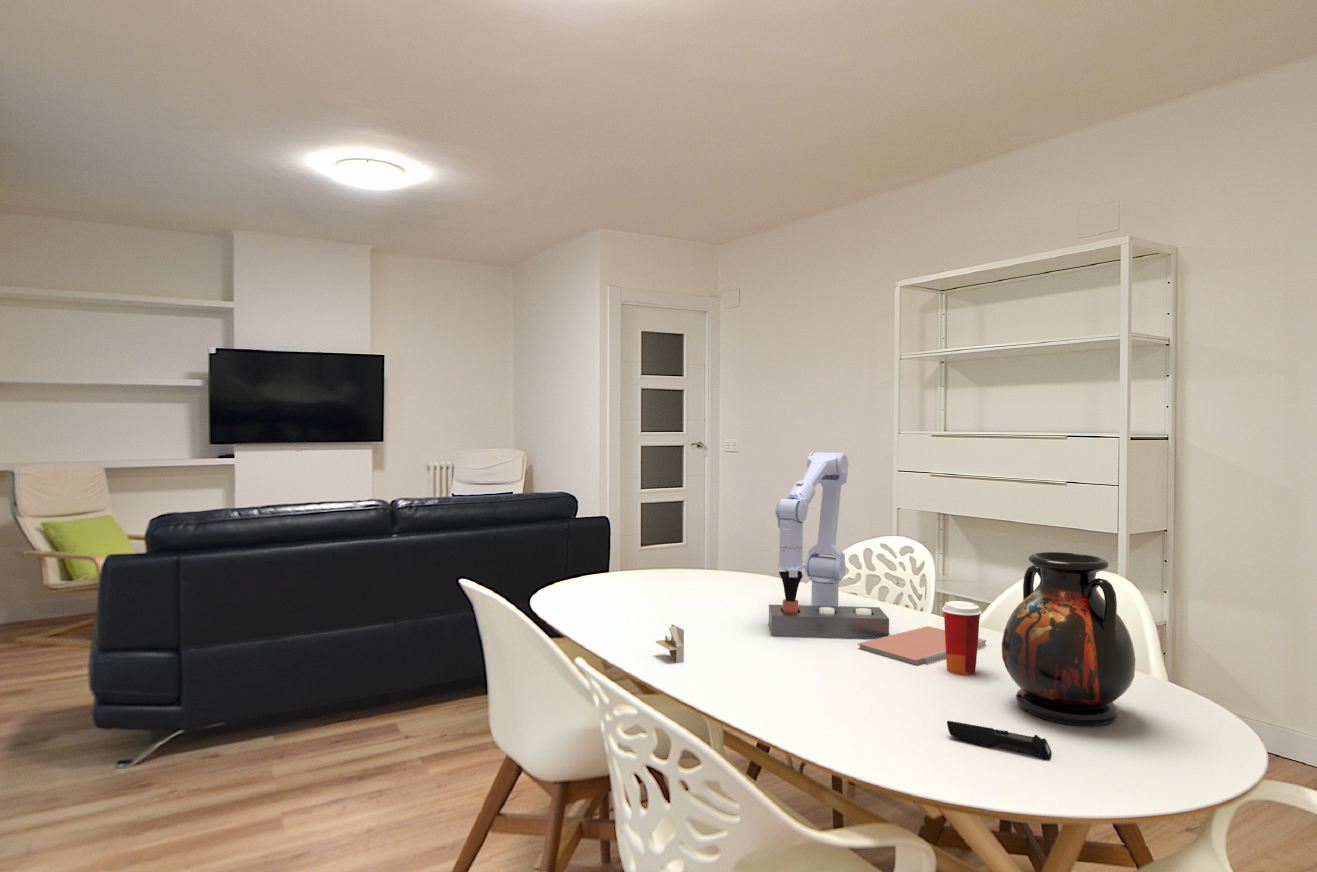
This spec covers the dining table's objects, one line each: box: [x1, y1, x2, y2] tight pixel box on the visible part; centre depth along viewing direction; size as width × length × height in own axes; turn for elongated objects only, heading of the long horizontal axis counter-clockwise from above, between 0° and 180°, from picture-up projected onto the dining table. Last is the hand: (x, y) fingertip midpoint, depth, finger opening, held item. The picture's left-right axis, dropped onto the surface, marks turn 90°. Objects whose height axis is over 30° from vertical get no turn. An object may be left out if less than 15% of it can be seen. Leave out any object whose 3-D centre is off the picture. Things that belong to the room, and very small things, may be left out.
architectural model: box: [655, 623, 685, 664], centre depth 173 cm, size 3×7×7 cm, turn 27°
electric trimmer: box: [946, 720, 1053, 761], centre depth 127 cm, size 4×16×3 cm, turn 58°
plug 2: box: [856, 608, 871, 615], centre depth 195 cm, size 4×4×5 cm
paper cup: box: [941, 600, 982, 676], centre depth 165 cm, size 8×8×14 cm
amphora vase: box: [1001, 551, 1136, 727], centre depth 142 cm, size 22×22×28 cm
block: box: [768, 604, 890, 640], centre depth 196 cm, size 12×28×5 cm, turn 85°
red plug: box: [782, 598, 799, 613], centre depth 197 cm, size 4×4×5 cm
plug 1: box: [819, 607, 835, 614], centre depth 196 cm, size 4×4×5 cm
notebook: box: [857, 625, 987, 666], centre depth 183 cm, size 27×17×2 cm, turn 127°
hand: (790, 600), depth 197 cm, fingers closed, pressing on red plug
